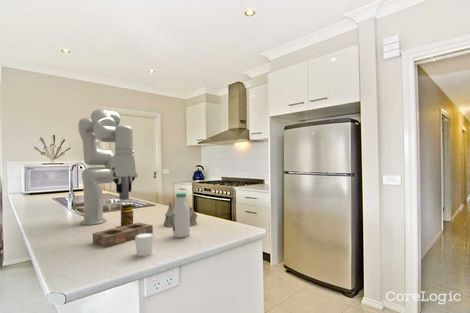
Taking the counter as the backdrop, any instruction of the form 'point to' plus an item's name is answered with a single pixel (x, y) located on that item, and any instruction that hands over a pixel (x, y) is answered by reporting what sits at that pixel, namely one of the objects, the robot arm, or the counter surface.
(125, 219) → the condiment
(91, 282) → the counter surface
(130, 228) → the socket block
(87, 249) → the counter surface
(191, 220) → the gray stone sculpture
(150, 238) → the shot glass
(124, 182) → the grey rounded cylinder
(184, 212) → the milk bottle
